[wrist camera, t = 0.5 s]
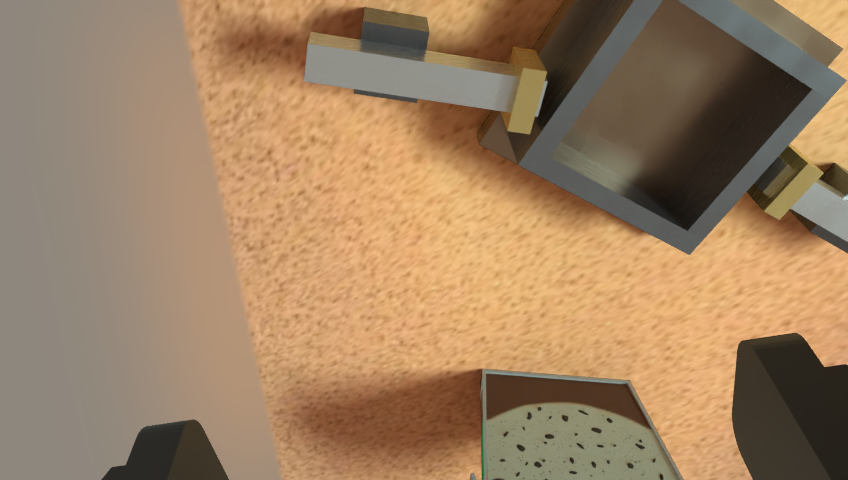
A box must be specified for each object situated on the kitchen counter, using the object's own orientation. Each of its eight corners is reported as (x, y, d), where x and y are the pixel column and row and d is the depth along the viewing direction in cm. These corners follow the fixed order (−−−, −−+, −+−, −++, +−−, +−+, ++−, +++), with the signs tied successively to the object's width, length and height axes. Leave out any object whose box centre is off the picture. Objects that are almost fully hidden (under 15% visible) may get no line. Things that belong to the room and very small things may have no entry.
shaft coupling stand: (437, -232, 28) (446, -233, 24) (966, 136, 37) (1031, 175, 33) (300, 47, 33) (289, 80, 29) (792, 305, 42) (831, 356, 39)
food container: (441, 437, 47) (453, 581, 39) (457, 366, 44) (475, 506, 35) (624, 450, 49) (674, 591, 40) (652, 382, 45) (713, 520, 37)
